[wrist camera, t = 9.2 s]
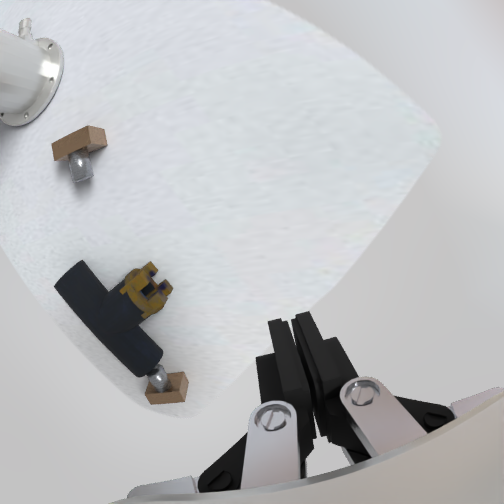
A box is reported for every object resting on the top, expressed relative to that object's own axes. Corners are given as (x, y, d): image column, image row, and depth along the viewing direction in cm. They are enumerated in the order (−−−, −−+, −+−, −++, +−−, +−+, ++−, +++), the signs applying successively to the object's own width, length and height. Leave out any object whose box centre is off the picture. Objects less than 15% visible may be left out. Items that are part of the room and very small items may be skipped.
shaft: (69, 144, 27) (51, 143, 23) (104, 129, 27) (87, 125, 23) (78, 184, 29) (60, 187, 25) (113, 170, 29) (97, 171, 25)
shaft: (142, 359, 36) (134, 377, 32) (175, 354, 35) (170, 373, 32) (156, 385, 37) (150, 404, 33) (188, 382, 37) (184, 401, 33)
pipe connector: (102, 233, 26) (198, 344, 29) (122, 222, 31) (204, 319, 34) (47, 292, 27) (131, 383, 31) (68, 276, 32) (142, 358, 36)
